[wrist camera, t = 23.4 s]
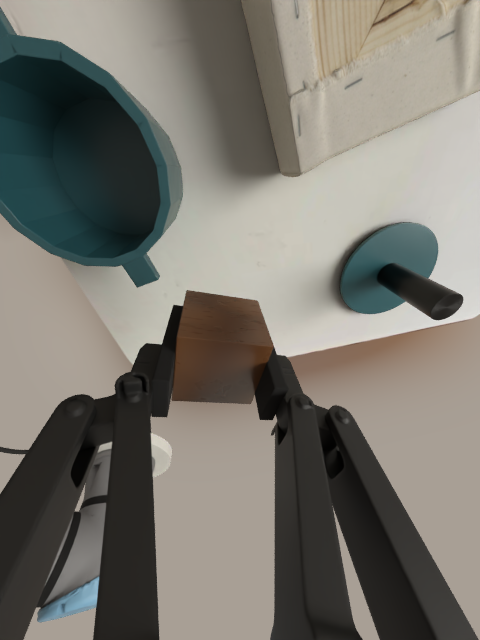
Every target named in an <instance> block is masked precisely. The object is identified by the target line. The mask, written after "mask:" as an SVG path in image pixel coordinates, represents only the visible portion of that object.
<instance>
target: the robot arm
mask: <svg viewBox="0 0 480 640" xmlns="http://www.w3.org/2000/svg"><path fill="white" fill-rule="evenodd" d="M182 309H183V306H178V305H173V309H172V312H171V315H170V319H169V322H168V326H167V329H166V333H165V336H164V339H163V343H162V345H160V344H149V343H146V344H145V345H144V346H143V347H142V348H141V349H140V350H139V353H138V355H137V358H136V360H135V363H134V365H133V368H132V370H131V372H128V373H125V374H124V375H122V376H120V377H119V378H118V379H117V381H116V383H115V391H116V394H114V395H112V396H109V397H105V398H100V399H95V400H94V399H93V398H92V397H90V396H88V395H83V394H81V395H75V396H72V397H69V398H67V399H65V400H64V401H62V402H61V403H60V404H59V405H58V406H57V408H56V409H55V410H54V412H53V414H52V415H51V417H50V418H49V420H48V421H47V423H46V424H45V426H44V427H43V429H42V430H41V432H40V434H39V435H38V437H37V438H36V440H35V441H34V443H33V444H32V446H31V448H30V449H29V450H15V449H8V448H3V447H0V452H4V453H11V454H26V455H25V457H24V458H23V460H22V462H21V463H20V465H19V466H18V468H17V469H16V471H15V472H14V474H13V475H12V477H11V478H10V480H9V482H8V483H7V485H6V486H5V488H4V489H3V491H2V492H1V494H0V640H23V639H24V636H25V634H26V631H27V629H28V626H29V624H30V621H31V619H32V616H33V614H34V611H35V609H36V607H41V609H40V610H39V611H38V618H37V621H38V622H44V621H49V620H54V619H58V618H62V617H66V616H69V615H73V614H76V613H79V612H83V611H86V610H89V609H92V608H95V607H96V616H95V617H96V618H95V626H94V638H93V640H159V624H158V598H157V574H156V549H155V523H154V498H153V472H154V468H155V459H154V458H153V457H152V448H151V423H150V417H151V413H152V417H167V415H168V410H169V404H170V399H171V394H172V388H173V376H174V363H175V351H176V338H177V333H178V328H179V323H180V319H181V314H182ZM255 397H256V402H257V407H258V413H259V418H260V420H273V418H274V416H275V414H276V417H277V423H276V425H275V427H274V428H273V430H272V433H271V435H274V433H275V613H274V625H273V629H272V633H271V638H270V640H362V638H361V637H360V635H359V633H358V632H357V630H356V628H355V625H354V622H353V618H352V613H351V607H350V602H349V596H348V591H347V585H346V579H345V574H344V568H343V563H342V557H341V552H340V546H339V540H338V535H337V529H336V523H335V518H334V512H333V508H334V511H335V514H336V516H337V519H338V522H339V525H340V528H341V531H342V533H343V536H344V539H345V542H346V545H347V547H348V551H349V553H350V556H351V559H352V562H353V565H354V568H355V570H356V573H357V576H358V579H359V582H360V585H361V587H362V590H363V593H364V596H365V599H366V602H367V604H368V607H369V610H370V613H371V616H372V618H373V622H374V624H375V627H376V630H377V633H378V636H379V638H380V640H478V638H477V636H476V634H475V632H474V631H473V629H472V627H471V625H470V624H469V622H468V620H467V618H466V617H465V615H464V613H463V611H462V609H461V608H460V606H459V604H458V602H457V601H456V599H455V597H454V595H453V594H452V592H451V590H450V588H449V586H448V585H447V583H446V581H445V579H444V577H443V576H442V574H441V572H440V570H439V569H438V567H437V565H436V563H435V562H434V560H433V558H432V556H431V554H430V553H429V551H428V549H427V547H426V546H425V544H424V542H423V540H422V538H421V537H420V535H419V533H418V531H417V530H416V528H415V526H414V524H413V522H412V521H411V519H410V517H409V515H408V514H407V512H406V510H405V508H404V507H403V505H402V503H401V501H400V499H399V498H398V496H397V494H396V492H395V491H394V489H393V487H392V485H391V484H390V482H389V480H388V478H387V476H386V475H385V473H384V471H383V469H382V468H381V466H380V464H379V462H378V460H377V459H376V457H375V455H374V453H373V451H372V450H371V448H370V446H369V444H368V443H367V441H366V439H365V437H364V436H363V434H362V432H361V430H360V428H359V427H358V425H357V423H356V422H355V420H354V418H353V417H352V415H351V414H350V412H348V411H347V410H346V409H345V408H342V407H340V406H332V407H331V408H330V409H329V410H327V409H325V408H322V407H319V406H317V405H314V404H313V401H312V400H311V399H310V398H309V397H308V396H306V395H305V394H303V391H302V389H301V387H300V384H299V382H298V379H297V377H296V375H295V372H294V370H293V367H292V365H291V362H290V361H289V360H288V359H287V357H286V356H281V355H277V354H276V351H275V348H274V347H273V350H272V352H271V355H270V357H269V360H268V362H267V363H266V366H265V368H264V371H263V373H262V376H261V378H260V381H259V384H258V386H257V389H256V391H255ZM110 442H112V448H111V449H107V450H104V451H101V452H99V453H97V452H98V450H99V447H100V445H103V444H106V443H110ZM85 483H86V485H85ZM84 485H85V495H84V500H83V503H82V505H81V508H80V510H79V512H75V511H74V510H75V508H76V505H77V503H78V500H79V498H80V495H81V492H82V490H83V488H84ZM332 505H333V507H332Z"/></svg>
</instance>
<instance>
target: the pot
mask: <svg viewBox="0 0 480 640" xmlns="http://www.w3.org/2000/svg"><path fill="white" fill-rule="evenodd" d="M182 197H183V185H182V174H181V166H180V163H179V161H178V158H177V155H176V152H175V150H174V148H173V146H172V144H171V141H170V139H169V137H168V135H167V134H166V133H165V131H164V130H163V129H162V128H161V126H160V125H159V124H158V123H157V122H156V120H155V119H154V118H153V117H152V115H151V114H150V113H149V112H148V111H147V109H146V108H145V107H144V106H143V105H142V104H141V103H140V102H139V101H138V100H136V99H135V98H134V97H133V96H132V95H131V94H130V93H129V92H128V91H127V90H126V89H125V88H124V87H123V86H122V85H121V84H120V83H119V82H118V81H117V80H116V79H115V78H114V77H113V76H112V75H111V74H110V73H108V72H107V71H105V70H104V69H102V68H101V67H99V66H97V65H96V64H94V63H93V62H91V61H90V60H88V59H86V58H85V57H83V56H82V55H80V54H79V53H77V52H75V51H74V50H72V49H71V48H69V47H68V46H66V45H64V44H63V43H61V42H59V41H53V40H46V39H39V38H32V37H26V36H19V35H17V34H16V32H15V31H14V29H13V27H12V26H11V24H10V22H9V21H8V19H7V17H6V16H5V14H4V12H3V11H2V9H1V7H0V213H1V214H2V216H3V217H4V218H5V219H6V220H7V221H8V222H9V223H10V224H11V226H12V227H13V228H14V229H16V230H17V231H18V232H20V233H21V234H23V235H24V236H26V237H27V238H29V239H30V240H32V241H33V242H34V243H36V244H37V245H39V246H40V247H42V248H43V249H45V250H46V251H48V252H49V253H51V254H53V255H57V256H59V257H62V258H65V259H67V260H70V261H73V262H76V263H79V264H82V265H84V266H85V265H86V266H112V267H116V266H120V265H122V266H123V267H124V269H125V270H126V272H127V273H128V275H129V276H130V278H131V279H132V281H133V282H134V283H135V285H136V286H137V287H140V286H143V285H145V284H148V283H151V282H154V281H156V280H158V279H159V277H160V275H159V273H158V272H157V270H156V268H155V267H154V265H153V263H152V262H151V260H150V258H149V257H148V255H147V252H148V251H149V250H150V248H151V247H152V246H153V245H154V244H155V243H156V242H157V241H158V240H159V239H160V238H161V236H162V235H163V234H164V233H165V231H166V230H167V229H168V228H169V226H170V225H171V224H172V223H173V221H174V220H175V219H176V216H177V213H178V210H179V207H180V204H181V200H182Z"/></svg>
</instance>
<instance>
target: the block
mask: <svg viewBox="0 0 480 640" xmlns="http://www.w3.org/2000/svg"><path fill="white" fill-rule="evenodd" d="M273 347H274V346H273V343H272V340H271V337H270V334H269V331H268V329H267V326H266V323H265V320H264V317H263V314H262V312H261V309H260V306H259V303H258V301H256V300H250V299H243V298H236V297H229V296H223V295H216V294H209V293H202V292H196V291H189V290H187V291H186V296H185V300H184V305H183V309H182V314H181V319H180V323H179V328H178V333H177V338H176V351H175V363H174V376H173V389H172V401H191V402H215V403H238V404H251V402H252V400H253V397H254V395H255V391H256V389H257V386H258V384H259V381H260V378H261V376H262V373H263V371H264V368H265V366H266V363H267V362H268V360H269V357H270V355H271V352H272V350H273Z"/></svg>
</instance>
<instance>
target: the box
mask: <svg viewBox="0 0 480 640" xmlns="http://www.w3.org/2000/svg"><path fill="white" fill-rule="evenodd" d="M241 3H242V7H243V12H244V15H245V20H246V23H247V28H248V33H249V37H250V42H251V46H252V51H253V55H254V59H255V64H256V68H257V72H258V77H259V81H260V86H261V90H262V94H263V98H264V102H265V106H266V112H267V116H268V120H269V125H270V129H271V133H272V137H273V142H274V146H275V150H276V154H277V159H278V164H279V168H280V172H281V174H282V175H284V176H288V177H297V176H300V175H302V174H304V173H306V172H308V171H310V170H311V169H313V168H315V167H316V166H318V165H319V164H321V163H322V162H324V161H326V160H328V159H330V158H332V157H334V156H336V155H338V154H340V153H343V152H345V151H347V150H349V149H351V148H354V147H356V146H358V145H360V144H362V143H365V142H367V141H369V140H371V139H373V138H376V137H378V136H380V135H382V134H385V133H387V132H389V131H391V130H393V129H396V128H398V127H400V126H403V125H405V124H407V123H409V122H411V121H414V120H416V119H418V118H420V117H423V116H425V115H427V114H429V113H431V112H433V111H436V110H438V109H440V108H442V107H445V106H447V105H449V104H451V103H454V102H456V101H458V100H460V99H462V98H465V97H467V96H469V95H471V94H473V93H476V92H478V91H480V0H241Z"/></svg>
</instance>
